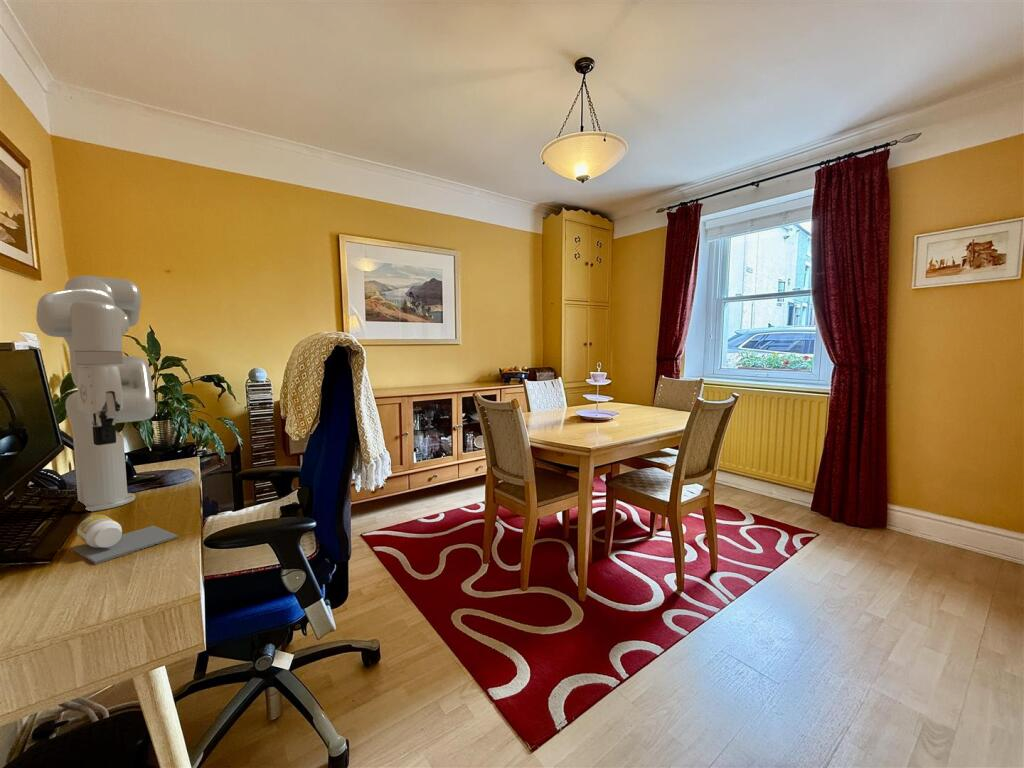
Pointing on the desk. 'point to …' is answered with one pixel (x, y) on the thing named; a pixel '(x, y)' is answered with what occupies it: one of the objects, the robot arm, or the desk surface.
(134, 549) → the rubber mat
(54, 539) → the desk surface
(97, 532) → the supplement bottle
